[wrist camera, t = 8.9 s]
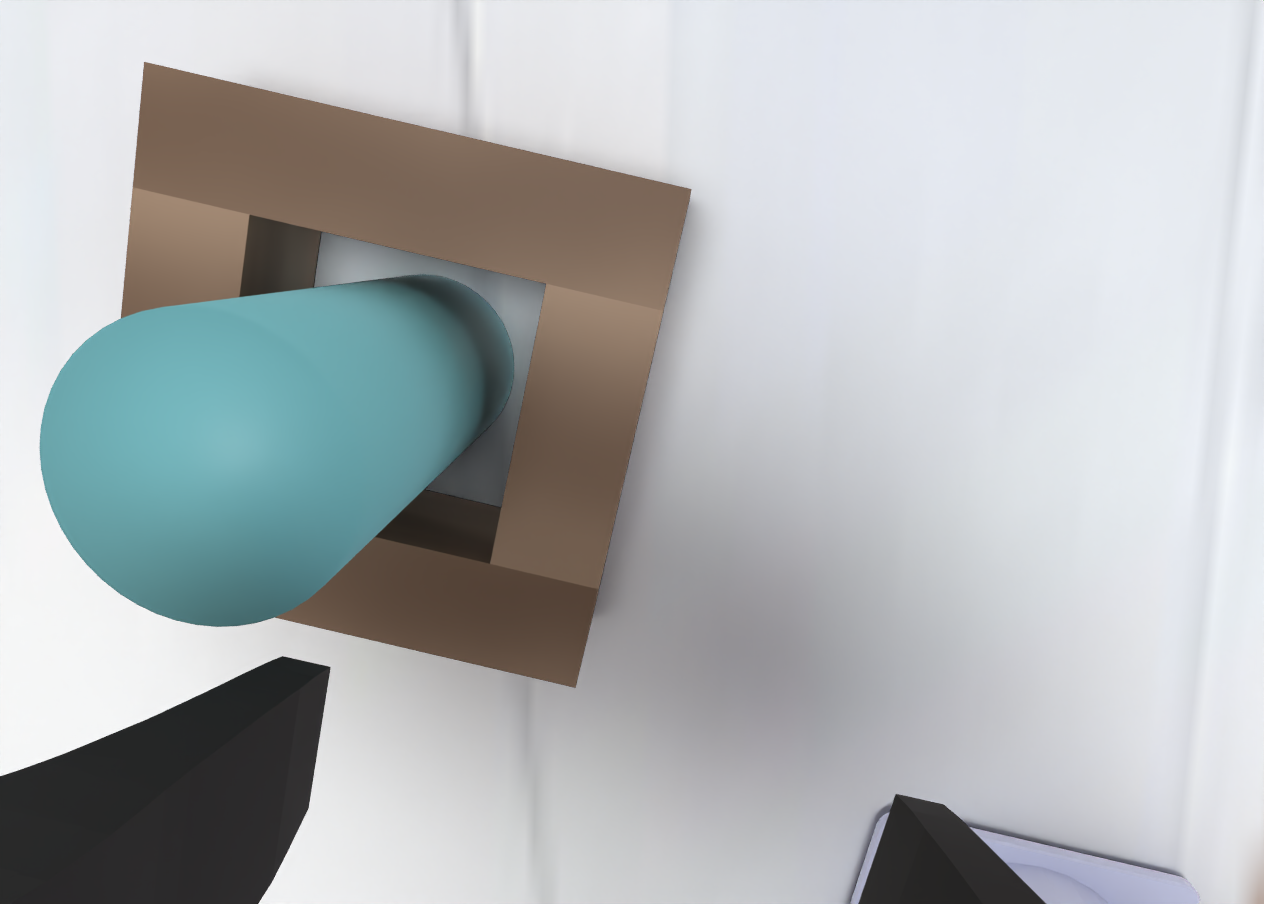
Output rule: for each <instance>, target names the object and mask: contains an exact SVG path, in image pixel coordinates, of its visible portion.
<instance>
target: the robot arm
mask: <svg viewBox="0 0 1264 904" xmlns="http://www.w3.org/2000/svg"><path fill="white" fill-rule="evenodd" d="M329 673H330V667H328V666H323V665H319V664H314V663H310V662H305V661H301V660H296V659H292V658H288V657H283V656H282V657H280V658H277V659H275V660H272V661H270V662H268V663H265V664H263V665H261V666H259V667H257V668H255V669H253V670H250V671H248V672H246V673H244V674H242V675H240V676H238V677H236V678H234V679H232V680H230V681H228V682H226V683H224V684H221V685H219V686H217V687H215V688H213V689H211V690H209V691H207V692H205V693H203V694H201V695H198V696H196V697H194V698H192V699H190V700H188V701H186V702H184V703H181V704H179V705H177V706H175V707H173V708H171V709H169V710H166V711H164V712H162V713H160V714H158V715H156V716H154V717H151V718H149V719H147V720H145V721H142V722H140V723H137V724H135V725H133V726H130V727H128V728H125V729H123V730H121V731H118V732H116V733H113V734H111V735H108V736H106V737H104V738H101V739H99V740H96V741H94V742H92V743H89V744H87V745H84V746H82V747H80V748H77V749H75V750H72V751H70V752H68V753H65V754H62V755H60V756H57V757H54V758H52V759H49V760H46V761H44V762H41V763H38V764H35V765H32V766H30V767H27V768H24V769H21V770H18V771H15V772H12V773H9V774H6V775H3V776H0V904H258V903H259V902H260V900H261V898H262V897H263V895H264V894H265V892H266V891H267V889H268V887H269V886H270V884H271V883H272V881H273V879H274V877H275V875H276V873H277V871H278V869H279V867H280V865H281V863H282V861H283V859H284V857H285V855H286V853H287V851H288V849H289V847H290V845H291V843H292V841H293V839H294V837H295V835H296V833H297V831H298V829H299V827H300V825H301V823H302V821H303V818H304V816H305V814H306V812H307V810H308V808H309V802H310V795H311V789H312V782H313V776H314V770H315V763H316V757H317V750H318V744H319V737H320V731H321V725H322V718H323V712H324V705H325V699H326V693H327V686H328V680H329ZM1199 903H1200V897H1199V894H1198V892H1197V891H1196V890H1195V888H1194V887H1193V886H1192V884H1191V883H1190V882H1189V881H1188V880H1187V879H1185V878H1183V877H1180V876H1176V875H1172V874H1168V873H1164V872H1159V871H1155V870H1151V869H1147V868H1142V867H1138V866H1134V865H1129V864H1125V863H1121V862H1117V861H1112V860H1108V859H1104V858H1100V857H1095V856H1091V855H1087V854H1082V853H1078V852H1074V851H1070V850H1065V849H1061V848H1057V847H1053V846H1048V845H1044V844H1040V843H1035V842H1031V841H1027V840H1023V839H1018V838H1014V837H1010V836H1006V835H1001V834H997V833H993V832H988V831H984V830H980V829H976V828H971V827H968V826H967V825H966V824H965V823H964V822H963V821H962V820H961V819H960V818H959V817H958V816H956V815H955V814H954V813H953V812H952V811H951V810H949V809H948V808H947V807H946V806H945V805H943V804H939V803H934V802H930V801H925V800H921V799H916V798H912V797H907V796H903V795H898V794H896V795H895V798H894V801H893V804H892V807H891V810H890V812H888V813H886V814H885V815H883V816H882V817H881V818H880V819H879V821H878V822H877V824H876V827H875V830H874V833H873V836H872V839H871V842H870V845H869V848H868V851H867V854H866V857H865V860H864V863H863V866H862V869H861V872H860V875H859V878H858V881H857V884H856V887H855V890H854V893H853V896H852V899H851V902H850V904H1199Z"/></svg>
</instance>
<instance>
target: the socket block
mask: <svg viewBox="0 0 1264 904" xmlns="http://www.w3.org/2000/svg"><path fill="white" fill-rule="evenodd" d="M690 194H691V189H688V188H684V187H679V186H675V185H671V184H666V183H662V182H658V181H654V180H649V179H645V178H641V177H636V176H632V175H628V174H623V173H619V172H615V171H611V170H606V169H602V168H598V167H593V166H589V165H585V164H581V163H576V162H572V161H568V160H563V159H559V158H555V157H550V156H546V155H542V154H538V153H533V152H529V151H525V150H520V149H516V148H512V147H507V146H503V145H499V144H495V143H490V142H486V141H482V140H477V139H473V138H469V137H465V136H460V135H456V134H452V133H447V132H443V131H439V130H434V129H430V128H426V127H422V126H417V125H413V124H409V123H404V122H400V121H396V120H392V119H387V118H383V117H379V116H374V115H370V114H366V113H361V112H357V111H353V110H349V109H344V108H340V107H336V106H331V105H327V104H323V103H319V102H314V101H310V100H306V99H301V98H297V97H293V96H288V95H284V94H280V93H276V92H271V91H267V90H263V89H258V88H254V87H250V86H246V85H241V84H237V83H233V82H228V81H224V80H220V79H215V78H211V77H207V76H203V75H198V74H194V73H190V72H185V71H181V70H177V69H173V68H168V67H164V66H160V65H155V64H151V63H147V62H144V70H143V81H142V92H141V103H140V114H139V125H138V136H137V147H136V158H135V169H134V180H133V191H132V202H131V213H130V224H129V235H128V246H127V257H126V268H125V279H124V290H123V301H122V312H121V318H124V317H126V316H129V315H132V314H135V313H138V312H141V311H145V310H150V309H155V308H160V307H167V306H175V305H183V304H191V303H199V302H206V301H214V300H222V299H230V298H238V297H245V296H253V295H261V294H269V293H277V292H284V291H292V290H300V289H308V288H313V286H314V279H315V272H316V264H317V257H318V250H319V243H320V236H321V231H322V232H327V233H331V234H335V235H339V236H344V237H348V238H352V239H357V240H361V241H365V242H369V243H374V244H378V245H382V246H387V247H391V248H395V249H399V250H404V251H408V252H412V253H417V254H421V255H425V256H430V257H434V258H438V259H442V260H447V261H451V262H455V263H460V264H464V265H468V266H472V267H477V268H481V269H485V270H490V271H494V272H498V273H502V274H507V275H511V276H515V277H520V278H524V279H528V280H532V281H537V282H541V283H545V284H546V288H545V293H544V298H543V303H542V308H541V312H540V317H539V322H538V327H537V332H536V337H535V342H534V347H533V352H532V357H531V362H530V367H529V372H528V377H527V382H526V387H525V392H524V397H523V402H522V407H521V412H520V417H519V422H518V427H517V432H516V437H515V442H514V447H513V452H512V457H511V462H510V467H509V472H508V477H507V482H506V487H505V492H504V497H503V502H502V507H501V508H500V507H496V506H491V505H487V504H483V503H479V502H474V501H470V500H466V499H461V498H457V497H453V496H449V495H444V494H440V493H436V492H432V491H427V490H423V491H422V492H421V493H420V494H419V495H418V496H417V497H416V498H415V499H414V500H412V501H411V502H410V503H409V504H408V505H407V506H406V507H405V508H404V509H403V510H402V511H401V512H400V513H399V514H398V515H397V516H396V517H395V518H394V519H393V520H392V521H391V522H390V523H389V524H388V525H386V526H385V527H384V528H383V529H382V530H381V531H380V532H379V533H378V534H377V535H376V536H375V537H374V538H373V539H372V540H371V541H370V542H369V543H368V544H367V545H366V546H365V547H364V548H363V549H362V550H361V551H359V552H358V553H357V554H356V555H355V556H354V557H353V558H352V559H351V560H350V561H349V562H348V563H347V564H346V565H345V566H344V567H343V568H342V569H341V570H340V571H339V572H338V573H337V574H336V575H335V576H334V577H332V578H331V579H330V580H329V581H328V582H327V583H326V584H325V585H324V586H323V587H322V588H321V589H320V590H318V591H317V592H316V593H315V594H314V595H313V596H312V597H310V598H309V599H308V600H306V601H305V602H303V603H301V604H300V605H298V606H297V607H295V608H294V609H292V610H290V611H288V612H285V613H283V614H281V615H279V616H277V617H275V618H279V619H284V620H288V621H292V622H296V623H301V624H305V625H309V626H314V627H318V628H322V629H326V630H331V631H335V632H339V633H344V634H348V635H352V636H356V637H361V638H365V639H369V640H373V641H378V642H382V643H386V644H391V645H395V646H399V647H403V648H408V649H412V650H416V651H420V652H425V653H429V654H433V655H438V656H442V657H446V658H450V659H455V660H459V661H463V662H467V663H472V664H476V665H480V666H485V667H489V668H493V669H497V670H502V671H506V672H510V673H515V674H519V675H523V676H527V677H532V678H536V679H540V680H544V681H549V682H553V683H557V684H562V685H566V686H570V687H574V688H575V687H576V683H577V679H578V675H579V671H580V667H581V662H582V658H583V654H584V650H585V646H586V642H587V637H588V633H589V629H590V625H591V621H592V617H593V612H594V608H595V604H596V599H597V595H598V591H599V587H600V582H601V578H602V574H603V569H604V565H605V561H606V556H607V552H608V548H609V544H610V539H611V535H612V531H613V526H614V522H615V518H616V513H617V509H618V505H619V501H620V496H621V492H622V488H623V483H624V479H625V475H626V470H627V466H628V462H629V458H630V453H631V449H632V445H633V440H634V436H635V432H636V428H637V423H638V419H639V415H640V410H641V406H642V402H643V397H644V393H645V389H646V385H647V380H648V376H649V372H650V367H651V363H652V359H653V354H654V350H655V346H656V342H657V337H658V333H659V329H660V324H661V320H662V316H663V311H664V307H665V303H666V299H667V294H668V290H669V286H670V281H671V277H672V273H673V268H674V264H675V260H676V256H677V251H678V247H679V243H680V238H681V234H682V230H683V225H684V221H685V217H686V213H687V208H688V204H689V200H690Z"/></svg>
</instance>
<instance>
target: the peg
mask: <svg viewBox="0 0 1264 904" xmlns="http://www.w3.org/2000/svg"><path fill="white" fill-rule="evenodd" d="M513 377H514V359H513V351H512V347H511V342H510V339H509V337H508V334H507V331H506V329H505V327H504V325H503V323H502V321H501V320H500V318H499V317H498V315H497V314H496V312H495V311H494V310H493V308H492V307H491V306H490V305H489V304H488V303H487V302H486V301H485V300H484V299H483V298H482V297H481V296H480V295H478V294H477V293H476V292H474V291H473V290H471V289H470V288H468V287H467V286H465V285H463V284H461V283H459V282H456V281H454V280H451V279H448V278H444V277H440V276H435V275H409V276H401V277H394V278H386V279H378V280H370V281H362V282H355V283H347V284H339V285H331V286H323V287H316V288H308V289H300V290H292V291H284V292H277V293H269V294H261V295H253V296H245V297H238V298H230V299H222V300H214V301H206V302H199V303H191V304H183V305H175V306H167V307H160V308H155V309H150V310H145V311H141V312H138V313H135V314H132V315H129V316H126V317H124V318H121V319H119V320H117V321H115V322H113V323H112V324H110V325H108V326H106V327H104V328H102V329H101V330H100V331H98V332H97V333H96V334H94V335H93V336H92V337H90V338H89V339H88V340H86V341H85V342H84V343H83V344H82V345H81V346H80V347H79V348H78V349H77V350H76V351H75V352H74V353H73V354H72V356H71V357H70V359H69V360H68V361H67V363H66V364H65V365H64V367H63V368H62V370H61V371H60V373H59V375H58V377H57V379H56V381H55V383H54V384H53V386H52V388H51V391H50V394H49V397H48V400H47V403H46V405H45V409H44V414H43V419H42V424H41V433H40V459H41V470H42V475H43V480H44V485H45V490H46V493H47V496H48V499H49V501H50V504H51V507H52V510H53V512H54V514H55V516H56V519H57V521H58V523H59V525H60V527H61V529H62V531H63V532H64V534H65V535H66V537H67V539H68V540H69V542H70V543H71V545H72V547H73V548H74V549H75V550H76V552H77V553H78V554H79V555H80V557H81V558H82V559H83V560H84V562H85V563H86V564H87V565H88V566H89V567H90V568H91V569H92V570H93V571H94V572H95V573H96V574H97V575H98V576H99V577H100V578H101V579H102V580H103V581H104V582H106V583H107V584H108V585H109V586H111V587H112V588H113V589H114V590H116V591H117V592H118V593H120V594H121V595H123V596H124V597H126V598H128V599H129V600H131V601H132V602H134V603H136V604H137V605H139V606H141V607H144V608H146V609H148V610H150V611H152V612H154V613H156V614H159V615H162V616H165V617H168V618H171V619H174V620H177V621H181V622H186V623H190V624H195V625H204V626H215V627H222V626H240V625H246V624H252V623H257V622H261V621H264V620H267V619H271V618H274V617H277V616H279V615H281V614H283V613H285V612H288V611H290V610H292V609H294V608H295V607H297V606H298V605H300V604H301V603H303V602H305V601H306V600H308V599H309V598H310V597H312V596H313V595H314V594H315V593H316V592H317V591H318V590H320V589H321V588H322V587H323V586H324V585H325V584H326V583H327V582H328V581H329V580H330V579H331V578H332V577H334V576H335V575H336V574H337V573H338V572H339V571H340V570H341V569H342V568H343V567H344V566H345V565H346V564H347V563H348V562H349V561H350V560H351V559H352V558H353V557H354V556H355V555H356V554H357V553H358V552H359V551H361V550H362V549H363V548H364V547H365V546H366V545H367V544H368V543H369V542H370V541H371V540H372V539H373V538H374V537H375V536H376V535H377V534H378V533H379V532H380V531H381V530H382V529H383V528H384V527H385V526H386V525H388V524H389V523H390V522H391V521H392V520H393V519H394V518H395V517H396V516H397V515H398V514H399V513H400V512H401V511H402V510H403V509H404V508H405V507H406V506H407V505H408V504H409V503H410V502H411V501H412V500H414V499H415V498H416V497H417V496H418V495H419V494H420V493H421V492H422V491H423V490H424V489H425V488H426V487H427V486H428V485H429V484H430V483H431V482H432V481H433V480H434V479H435V478H436V477H437V476H438V475H439V474H441V473H442V472H443V471H444V470H445V469H446V468H447V467H448V466H449V465H450V464H451V463H452V462H453V461H454V460H455V459H456V458H457V457H458V456H459V455H460V454H461V453H462V452H463V451H464V450H465V449H467V448H468V447H469V446H470V445H471V444H472V443H473V442H474V441H475V440H476V439H477V438H478V437H479V436H480V435H481V434H482V433H483V432H484V431H485V430H486V429H487V428H488V427H489V426H490V425H491V424H492V423H493V422H494V421H495V420H496V418H497V417H498V416H499V414H500V413H501V411H502V410H503V408H504V406H505V404H506V402H507V400H508V397H509V394H510V391H511V388H512V382H513Z"/></svg>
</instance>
